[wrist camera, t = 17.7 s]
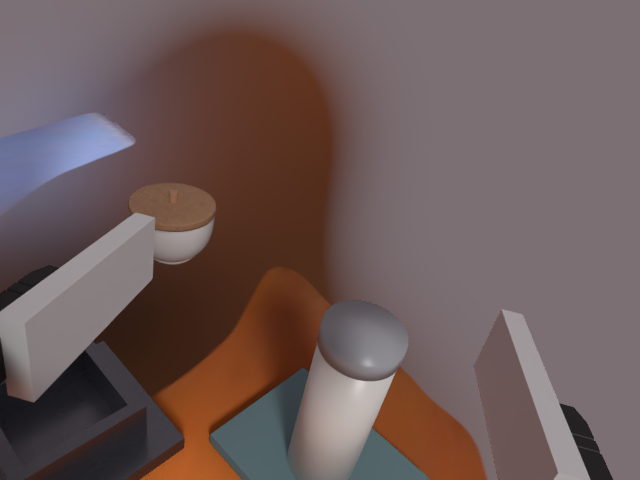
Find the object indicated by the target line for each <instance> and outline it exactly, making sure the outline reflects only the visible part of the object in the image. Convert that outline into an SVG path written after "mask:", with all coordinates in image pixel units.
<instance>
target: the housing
mask: <svg viewBox="0 0 640 480" xmlns="http://www.w3.org/2000/svg"><path fill="white" fill-rule="evenodd" d="M183 448H184V437H183V436H182V434H181V433H180V432H179V431H178V430H177V428H176V427H175V426H174V425H173V424H172V422H171V421H170V420H169V419H168V418H167V416H166V415H165V414H164V413H163V412H162V410H161V409H160V408H159V407H158V406H157V404H156V403H155V402H154V401H153V400H152V398H151V397H150V396H149V395H148V394H147V392H146V391H145V390H144V389H143V388H142V386H141V385H140V384H139V383H138V382H137V380H136V379H135V378H134V377H133V376H132V374H131V373H130V372H129V371H128V369H127V368H126V367H125V366H124V365H123V364H122V362H121V361H120V360H119V359H118V358H117V356H116V355H115V354H114V353H113V352H112V351H111V349H110V348H109V347H108V345H107V344H106V343H105V342H104V341H102V342H100V343H98V344H95V343H94V341H92V343H91V344H90V345H89V346H88V347H87V348H86V349H85V350H84V351H83V352H82V353H81V354H80V355H79V356H78V357H77V358H76V359H75V360H74V361H73V362H72V363H71V365H70V366H69V367H68V368H67V369H66V370H65V371H64V372H63V373H62V374H61V375H60V376H59V377H58V378H57V379H56V380H55V381H54V382H53V383H52V384H51V385H50V386H49V388H48V389H47V390H46V391H45V392H44V393H43V394H42V395H41V396H40V397H39V398H38V399H37V400H36V401H35V402H30V401H27V400H23V399H20V398H17V397H13V396H10V395H8V393H7V387H6V380H4V381H3V382H2V383H1V384H0V480H139V479H141V478H142V477H144V476H145V475H146V474H148V473H149V472H151V471H152V470H153V469H155V468H156V467H158V466H159V465H161V464H162V463H163V462H165V461H166V460H168V459H169V458H170V457H172V456H173V455H175V454H176V453H177V452H179V451H180V450H182V449H183Z"/></svg>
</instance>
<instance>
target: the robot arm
mask: <svg viewBox="0 0 640 480" xmlns="http://www.w3.org/2000/svg"><path fill="white" fill-rule="evenodd" d="M154 234H155V217H151V216H147V215H144V214H140V213H134V214H133V215H132V216H130V217H129V218H128V219H126V220H125V221H124V222H122V223H121V224H119V225H118V226H117V227H115V228H114V229H112V230H111V231H110V232H108V233H107V234H106V235H104V236H103V237H102V238H100V239H99V240H97V241H96V242H95V243H93V244H92V245H91V246H89V247H88V248H87V249H85V250H84V251H83V252H81V253H80V254H78V255H77V256H75V257H74V258H73V259H71V260H70V261H69V262H67V263H66V264H65V265H63V266H62V267H60V268H57V267H53V266H47V267H44V268H41V269H38V270H35V271H33V272H31V273H29V274H28V275H26V276H25V277H23V278H22V279H20V280H19V281H18V283H15V284H13V285H12V286H10V287H9V288H8V289H7V291H6V290H4V291H3V292H1V293H0V384H1V383H2V382H3V381H4V380H6V387H7V393H8V395H10V396H13V397H17V398H20V399H23V400H27V401H30V402H35V401H36V400H37V399H38V398H39V397H40V396H41V395H42V394H43V393H44V392H45V391H46V390H47V389H48V388H49V386H50V385H51V384H52V383H53V382H54V381H55V380H56V379H57V378H58V377H59V376H60V375H61V374H62V373H63V372H64V371H65V370H66V369H67V368H68V367H69V366H70V365H71V363H72V362H73V361H74V360H75V359H76V358H77V357H78V356H79V355H80V354H81V353H82V352H83V351H84V350H85V349H86V348H87V347H88V346H89V345H90V344H91V343H92V341H93V340H94V339H95V338H96V337H97V336H98V335H99V334H100V333H101V332H102V331H103V330H104V329H105V328H106V327H107V326H108V325H109V324H110V322H112V321H113V319H114V318H115V317H116V316H117V315H118V314H119V313H120V312H121V311H122V310H123V309H124V308H125V307H126V306H127V305H128V304H129V303H130V302H131V301H132V299H133V298H135V296H136V295H137V294H138V293H139V292H140V291H141V290H142V289H143V288H144V287H145V286H146V285H147V284H148V283H149V282H150V281H151V280H152V278H153V257H154ZM474 368H475V373H476V378H477V382H478V387H479V392H480V397H481V401H482V406H483V411H484V415H485V420H486V425H487V430H488V434H489V439H490V444H491V449H492V454H493V458H494V463H495V467H496V472H497V477H498V480H613V479H612V476H611V474H610V472H609V470H608V468H607V465H606V463H605V461H604V459H603V457H602V455H601V454H600V453H599V452H600V451H599V448H598V446H597V444H596V442H595V441H594V437H593V435H592V433H591V431H590V429H589V426H588V424H587V422H586V421H585V420H584V419H583V418H582V416H581V415H580V414H579V413H578V412H577V411H576V409H575V408H573V407H570V406H567V405H563V404H560V403H559V402H558V400H557V397H556V395H555V392H554V390H553V387H552V385H551V383H550V380H549V378H548V375H547V373H546V370H545V368H544V366H543V363H542V361H541V358H540V356H539V353H538V351H537V349H536V346H535V344H534V341H533V339H532V337H531V334H530V332H529V329H528V327H527V324H526V322H525V320H524V317H523V315H522V314H518V313H515V312H510V311H507V310H503V309H501V311H500V313H499V315H498V317H497V319H496V321H495V323H494V326H493V328H492V329H491V332H490V334H489V336H488V338H487V340H486V342H485V344H484V346H483V348H482V350H481V352H480V355H479V356H478V358H477V360H476V362H475V365H474Z"/></svg>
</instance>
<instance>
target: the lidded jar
mask: <svg viewBox="0 0 640 480" xmlns="http://www.w3.org/2000/svg"><path fill="white" fill-rule="evenodd" d="M128 209H129V213H130V216H132V215H133V214H134V213H140V214H144V215H147V216H151V217H155V234H154V257H153V259H154V260H156V261H158V262H160V263H163V264H181V263H184V262H187V261H188V260H190V259H192V258H193V257H194V256H195V255H197V254H198V253H199V252H201V251H202V250H203V248H204V247H205V246H206V244H207V243H208V241H209V239H210V236H211V234H212V230H213V224H214V216H215V213H216V203H215V201H214V199H213V198H212V197H211V196H210V195H209V194H208V193H207V192H205V191H203V190H201V189H199V188H197V187H194V186H190V185H186V184H179V183H158V184H153V185H149V186H145V187H143V188H140V189H139V190H137V191H135V192H134V193H133V194H132V195H131V197H130V198H129V201H128Z"/></svg>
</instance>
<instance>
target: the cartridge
mask: <svg viewBox="0 0 640 480" xmlns="http://www.w3.org/2000/svg"><path fill="white" fill-rule="evenodd" d="M407 348H408V335H407V332H406V330H405V328H404V326H403V325H402V323H401V322H400V321H399V320H398V318H397V317H395V316H394V315H393V314H392V313H391V312H389V311H388V310H386V309H384V308H383V307H381V306H378V305H376V304H373V303H370V302H366V301H361V300H346V301H341V302H338V303H336V304H334V305H332V306H331V307H329V308H328V309H327V310H326V312H325V313H324V315H323V318H322V322H321V325H320V329H319V333H318V337H317V345H316V349H315V353H314V356H313V360H312V364H311V367H310V371H309V375H308V378H307V382H306V386H305V389H304V393H303V397H302V400H301V404H300V408H299V411H298V415H297V419H296V423H295V426H294V430H293V434H292V437H291V441H290V445H289V448H288V455H287V456H288V464H289V467H290V470H291V472H292V474H293V475H294V477H295V478H296V479H297V480H349V479H350V477H351V475H352V473H353V470H354V468H355V466H356V463H357V461H358V459H359V456H360V454H361V452H362V449H363V447H364V445H365V442H366V440H367V438H368V435H369V433H370V431H371V428H372V426H373V424H374V421H375V419H376V417H377V414H378V412H379V410H380V407H381V405H382V403H383V400H384V398H385V396H386V393H387V391H388V389H389V386H390V384H391V382H392V379H393V377H394V375H395V372H396V371H397V370H398V368H399V367H400V364H401V362H402V360H403V357H404V355H405V353H406V350H407Z"/></svg>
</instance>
